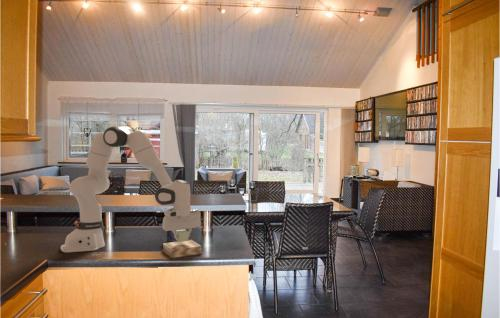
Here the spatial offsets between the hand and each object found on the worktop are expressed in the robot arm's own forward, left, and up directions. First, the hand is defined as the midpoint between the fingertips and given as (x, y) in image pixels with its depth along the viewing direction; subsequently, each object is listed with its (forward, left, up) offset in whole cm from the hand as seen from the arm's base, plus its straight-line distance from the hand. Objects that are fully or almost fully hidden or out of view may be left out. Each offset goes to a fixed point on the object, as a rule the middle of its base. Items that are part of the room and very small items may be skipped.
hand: (182, 237), depth 221 cm
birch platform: (0, 0, -8) cm, 8 cm away
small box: (+4, +20, -8) cm, 22 cm away
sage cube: (0, 0, -2) cm, 2 cm away
